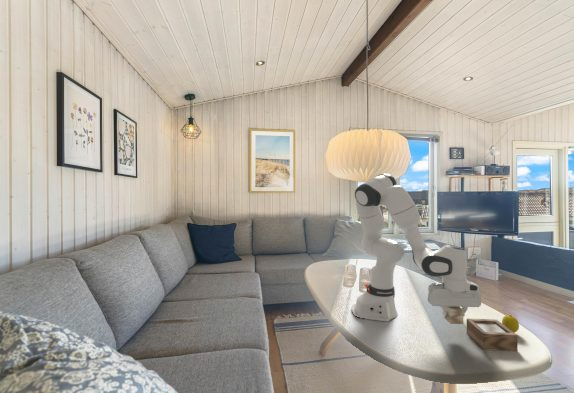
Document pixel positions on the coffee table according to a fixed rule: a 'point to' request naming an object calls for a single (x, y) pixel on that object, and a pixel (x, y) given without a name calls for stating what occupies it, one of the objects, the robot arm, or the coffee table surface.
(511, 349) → the walnut frame
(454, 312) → the ash block
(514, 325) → the lemon
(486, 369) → the coffee table surface
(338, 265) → the coffee table surface
